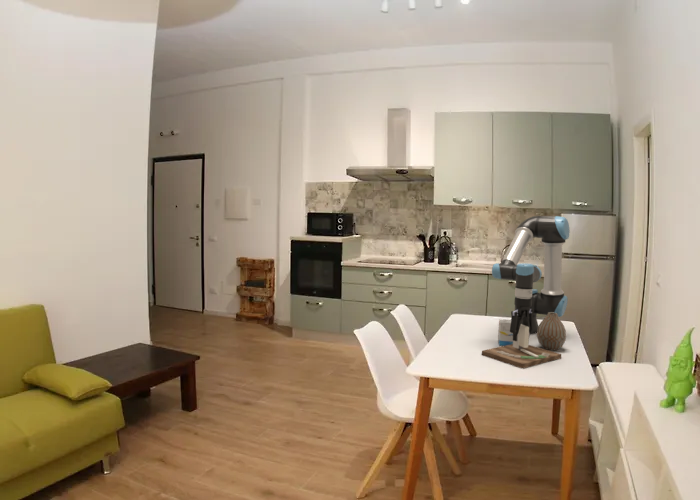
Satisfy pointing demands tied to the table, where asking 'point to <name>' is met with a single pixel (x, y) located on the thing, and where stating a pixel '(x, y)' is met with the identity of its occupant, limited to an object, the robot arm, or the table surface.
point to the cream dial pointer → (524, 339)
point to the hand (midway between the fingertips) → (520, 346)
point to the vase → (551, 332)
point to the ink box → (505, 333)
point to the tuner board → (521, 355)
